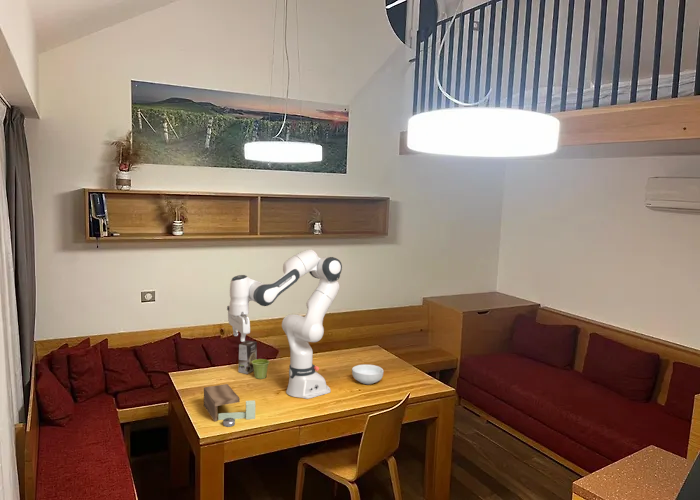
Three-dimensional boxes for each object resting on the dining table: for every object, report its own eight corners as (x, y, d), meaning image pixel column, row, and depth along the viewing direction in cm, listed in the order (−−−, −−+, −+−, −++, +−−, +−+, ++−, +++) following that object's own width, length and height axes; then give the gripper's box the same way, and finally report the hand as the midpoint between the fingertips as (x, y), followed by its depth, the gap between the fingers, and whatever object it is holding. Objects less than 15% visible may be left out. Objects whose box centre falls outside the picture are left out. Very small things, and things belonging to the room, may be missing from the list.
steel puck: (235, 422, 244) (235, 417, 244) (234, 427, 239) (234, 423, 239) (224, 421, 244) (224, 417, 243) (222, 427, 239) (222, 423, 238)
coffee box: (248, 374, 302) (248, 345, 300) (238, 372, 304) (238, 344, 302) (256, 369, 311) (257, 341, 308) (247, 367, 313) (247, 339, 311)
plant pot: (248, 376, 299) (248, 360, 298) (263, 372, 305) (263, 357, 304) (257, 381, 292) (257, 365, 291) (272, 377, 298) (272, 362, 297)
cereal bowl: (387, 379, 302) (388, 367, 302) (375, 389, 287) (376, 376, 287) (359, 374, 309) (359, 361, 309) (346, 383, 294) (346, 370, 294)
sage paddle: (254, 415, 251) (254, 400, 251) (255, 418, 248) (255, 403, 247) (218, 417, 248) (218, 402, 247) (218, 421, 244) (218, 406, 243)
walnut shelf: (227, 402, 265) (227, 384, 263) (239, 416, 249) (239, 397, 248) (203, 406, 259) (203, 387, 258) (214, 421, 243) (214, 402, 242)
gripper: (253, 314, 252) (253, 343, 254) (238, 304, 270) (238, 332, 272) (240, 315, 249) (240, 345, 251) (225, 305, 266) (225, 333, 268)
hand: (239, 338), depth 261 cm, fingers open, 8 cm apart
